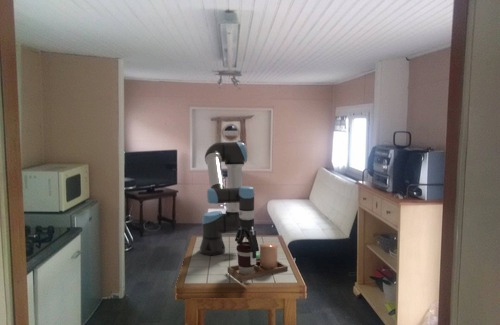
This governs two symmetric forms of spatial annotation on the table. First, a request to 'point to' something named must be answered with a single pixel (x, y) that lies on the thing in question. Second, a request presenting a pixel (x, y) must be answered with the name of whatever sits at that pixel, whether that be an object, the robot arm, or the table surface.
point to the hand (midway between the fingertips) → (246, 260)
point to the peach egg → (268, 256)
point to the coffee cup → (244, 258)
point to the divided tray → (255, 271)
